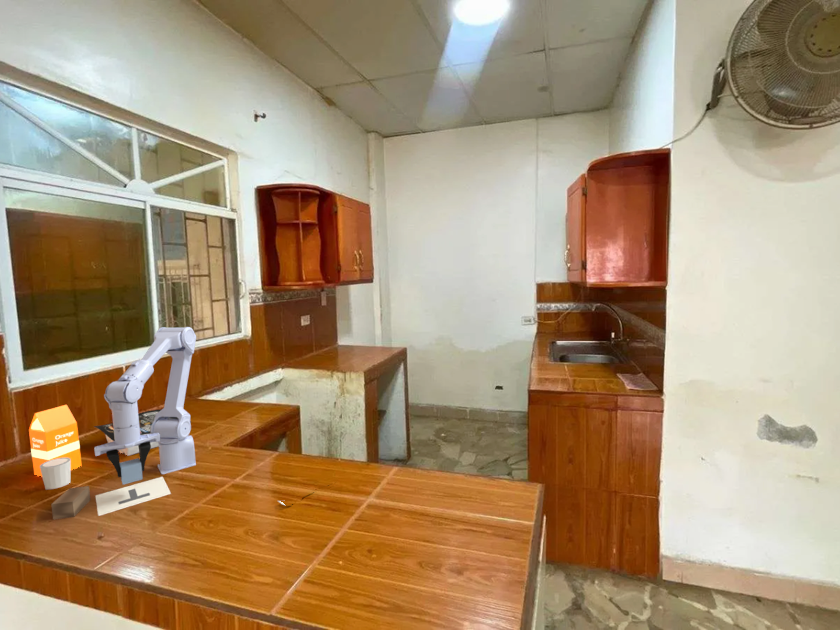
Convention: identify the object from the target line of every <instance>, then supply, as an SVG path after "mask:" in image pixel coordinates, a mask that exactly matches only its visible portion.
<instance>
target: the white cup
mask: <svg viewBox="0 0 840 630" xmlns="http://www.w3.org/2000/svg"><path fill="white" fill-rule="evenodd" d="M40 469H41V473H42V477H41V478H42V481H43V484H44V485H43V486H44V489H45V490H46V491H47V490H54V489H58V488H62V487H65V486H67V485H70V484H71V472H72V470H71V459H70V458H68V457H65V458H57V459H53V460H49V461H47V462H44V463H43V464H41V465H40ZM69 483H70V484H69Z"/></svg>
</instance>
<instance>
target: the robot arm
mask: <svg viewBox="0 0 840 630" xmlns="http://www.w3.org/2000/svg"><path fill="white" fill-rule="evenodd" d="M196 341H197V335H196V333H195V331H194V329H193V328H192V327H190V326H185V327H165V326H163V327H159V328H158V330H157V331H156V332H155V333H154V334H153V342H152V343H151V345H150V347H148V350H147V351H146V352H145V353H144V355H143V357H142V358H141V359H137V360H133V361H132V362H131V363H130V365H129V367H128V368H127V369H126V371H124V373H122V375H121V376H120V377H119V378H118V379H117V380H115V381H112V382H111V383H109V385H107V387H106V388H105V393H104V394H103V397H104V400H105V401H106V402H107V404H108V407H109V409H110V410H111V413H112V414H111V417H112V423H113V427H114V437H115V441H113V442H110V443H108V442H107V443H104V444H101V445H97V446H94V449H93V450H94V455H95V457H97V456H101V455H103V454H106V458H107V459H108V460H109V461H110V463H111V464H112V466H113V467H114V468H115V471H116V473H117V478H121V470H120V463H121V462H120V455H119V454H120V453H119V451H118V450H121V449H125V448H129V447H134V446H139V453H138V454H139V459H140V462H141V466H142V472H144V471H145V464H146V462H147V461H146V460H147V458H148V455H149V453H150V451H151V449H150V448H151V445H150V443H151V442H159V446H158V452H159V461H160V462H159V463H160V464H159V463H158V464H157V468H158V470H159V472H160V475H165V474H169V473H173V472H178V471H180V470H183V469H187V468H190V467H195V466H196V465H197V463H196V451H195V442H194V438H193V435H190V433H191V430H192V425H191V422H190V421H191V414H190V413H189V412H188V411H187V410H186V409H184V406H185V405H184V404H185V399H186V393H187V387H188V380H189V375H190V369H191V363H192V357H193V354H194V353H195V348H196ZM165 354H167V355H170V357H171V358H172V362H171V365H170V367H171V368H170V372H169V378H168V383H167V391H166V395H165V401H164V407H163V408H161V409H162V410H161V411H159V412H158V413H157V414H156V415H155V419H154V422H153V424H152V426H151V430H150V431H151V434H147V435H140V427H139V416H138V414H139V406H138V405H139V404H138V400H140V399H141V397H142V394H143V389H144V386H145V384H146V382H147V381H148V380H149V379H150V378H151V376H152V375H153V374H154V371H155V370H154V369H155V368H154V366H155V364H157V362H158V361H159V360H160V359H161V358H163V356H164V355H165ZM169 417H177V418H178V419H168V418H169Z"/></svg>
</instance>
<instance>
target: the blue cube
mask: <svg viewBox="0 0 840 630" xmlns="http://www.w3.org/2000/svg"><path fill="white" fill-rule="evenodd" d="M119 463H120V470H121V477H120V481H121V483H122V486H123V485H124V486H125V485H127V484H131V483H133V482H139V481H142V480H143V479H144V478H143V471H142V466H141V462H140V457H137V458H134V459H133V458H132V459H129V460H125V461H122V462H119Z"/></svg>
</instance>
